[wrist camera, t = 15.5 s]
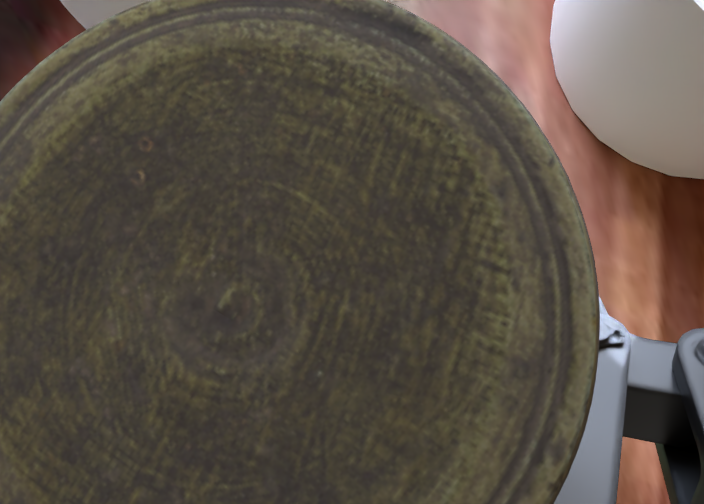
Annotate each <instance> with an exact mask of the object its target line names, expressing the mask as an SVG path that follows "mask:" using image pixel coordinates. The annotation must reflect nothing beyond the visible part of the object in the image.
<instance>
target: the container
mask: <svg viewBox="0 0 704 504" xmlns="http://www.w3.org/2000/svg"><path fill="white" fill-rule="evenodd" d="M599 338H600V306H599V293H598V282H597V275H596V268H595V261H594V256H593V251H592V247H591V243H590V239H589V235H588V231H587V228H586V224H585V221H584V218H583V215H582V212H581V209H580V206H579V203H578V201H577V198H576V196H575V193H574V191H573V188H572V185H571V183H570V180H569V177H568V175H567V174H566V172H565V170H564V168H563V166H562V164H561V162H560V160H559V158H558V156H557V154H556V153H555V151H554V149H553V148H552V146H551V144H550V143H549V141H548V139H547V138H546V136H545V135H544V133H543V132H542V130H541V129H540V127H539V126H538V124H537V123H536V121H535V120H534V118H533V117H532V115H531V114H530V113H529V111H528V110H527V109H526V107H525V106H524V105H523V104H522V102H521V101H520V100H519V99H518V98H517V97H516V96H515V94H514V93H513V92H512V91H511V90H510V88H509V87H508V86H507V85H506V84H505V83H504V82H503V81H502V80H501V79H500V78H499V77H498V76H497V75H496V74H495V73H494V72H493V71H492V70H491V69H490V68H489V67H488V66H487V65H486V64H485V63H484V62H483V61H481V60H480V59H479V58H478V57H477V56H475V55H474V54H473V53H472V52H470V51H469V50H468V49H467V48H466V47H464V46H463V45H462V44H461V43H459V42H458V41H456V40H455V39H454V38H452V37H451V36H449V35H448V34H447V33H445V32H444V31H442V30H441V29H439V28H437V27H436V26H434V25H432V24H431V23H429V22H427V21H426V20H424V19H422V18H420V17H418V16H416V15H415V14H413V13H411V12H409V11H407V10H405V9H402V8H400V7H398V6H395V5H393V4H391V3H388V2H386V1H383V0H149V1H146V2H143V3H141V4H138V5H136V6H134V7H131V8H129V9H127V10H125V11H122V12H120V13H118V14H115V15H113V16H111V17H109V18H107V19H105V20H103V21H102V22H100V23H98V24H96V25H94V26H93V27H91V28H89V29H87V30H86V31H84V32H82V33H81V34H79V35H78V36H76V37H75V38H73V39H72V40H70V41H69V42H67V43H66V44H64V45H63V46H62V47H60V48H59V49H57V50H56V51H55V52H53V53H52V54H51V55H49V56H48V57H47V58H46V59H44V60H43V61H42V62H40V63H39V64H38V65H37V66H36V67H35V68H34V69H33V70H31V71H30V72H29V73H28V74H27V75H26V76H25V77H24V78H23V79H22V80H20V81H19V82H18V83H17V84H16V85H15V86H14V87H13V88H12V89H11V91H10V92H9V93H8V94H7V95H6V96H5V97H4V98H3V99H2V100H1V101H0V504H554V502H555V500H556V498H557V496H558V494H559V493H560V491H561V488H562V486H563V484H564V482H565V480H566V478H567V476H568V474H569V471H570V469H571V466H572V464H573V461H574V459H575V457H576V454H577V451H578V448H579V446H580V443H581V440H582V437H583V434H584V431H585V427H586V424H587V420H588V416H589V412H590V408H591V404H592V399H593V393H594V387H595V381H596V373H597V365H598V353H599Z"/></svg>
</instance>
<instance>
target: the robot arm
mask: <svg viewBox="0 0 704 504" xmlns="http://www.w3.org/2000/svg"><path fill="white" fill-rule="evenodd" d="M599 306H600V338H599V353H598V365H597V373H596V381H595V387H594V393H593V399H592V404H591V408H590V412H589V416H588V420H587V424H586V427H585V431H584V434H583V437H582V440H581V443H580V446H579V448H578V451H577V454H576V457H575V459H574V461H573V464H572V466H571V469H570V471H569V474H568V476H567V478H566V480H565V482H564V484H563V486H562V488H561V491H560V493H559V494H558V496H557V498H556V500H555V502H554V504H616V499H617V488H618V478H619V467H620V457H621V446H622V436H624V437H629V438H634V439H639V440H644V441H649V442H654V443H655V445H656V449H657V453H658V456H659V460H660V464H661V468H662V472H663V476H664V480H665V484H666V488H667V491H668V495H669V499H670V503H671V504H704V328H699V329H693V330H691V331H689V332H687V333H685V334H683V335H682V336H681V338H680V339H679V341H678V343H671V342H664V341H657V340H650V339H646V338H642V337H638V336H636V335H633V334H630V333H629V332H628V330H627V329H626V328H625V327H624V325H623V324H622V323H620V322H619V321H617V320H615V319H614V318H612V317H610V316H609V315H608V313H607V311H606V309H605V307H604V305H603V303H602V301H601V299H600V297H599Z"/></svg>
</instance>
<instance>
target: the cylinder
mask: <svg viewBox="0 0 704 504" xmlns="http://www.w3.org/2000/svg"><path fill="white" fill-rule="evenodd" d="M550 45H551V51H552V56H553V62H554V68H555V73H556V77H557V79H558V82H559V84H560V86H561V88H562V90H563V92H564V94H565V96H566V98H567V100H568V102H569V104H570V106H571V108H572V110H573V111H574V112H575V114H576V115H577V116H578V117H579V118H580V119H581V120H582V122H583V123H584V124H585V125H586V126H587V127H588V128H589V130H590V131H591V132H592V133H593V134H594V135H595V136H596V137H597V139H598V140H600V141H601V142H603V143H604V144H606V145H607V146H609V147H610V148H612V149H613V150H615V151H616V152H618V153H619V154H621V155H622V156H624V157H625V158H627V159H628V160H630V161H631V162H634V163H636V164H639V165H642V166H645V167H647V168H650V169H653V170H656V171H658V172H661V173H664V174H667V175H669V176H678V177H687V178H697V179H704V0H555V3H554V5H553V15H552V24H551V34H550Z"/></svg>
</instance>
